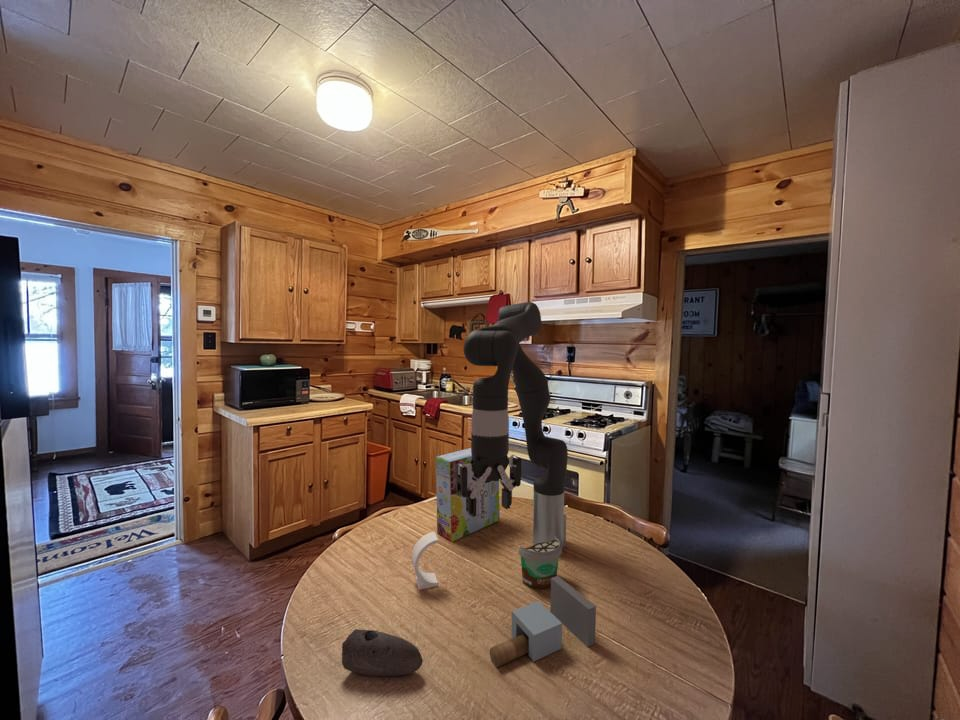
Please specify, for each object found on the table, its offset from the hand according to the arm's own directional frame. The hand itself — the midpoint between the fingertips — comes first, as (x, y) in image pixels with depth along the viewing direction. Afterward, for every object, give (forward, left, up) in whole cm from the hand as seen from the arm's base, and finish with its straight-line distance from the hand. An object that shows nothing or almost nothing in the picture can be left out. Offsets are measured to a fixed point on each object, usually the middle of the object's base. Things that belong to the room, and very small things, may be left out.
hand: (489, 511), depth 80 cm
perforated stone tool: (+20, -4, -28) cm, 35 cm away
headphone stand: (+4, -26, -28) cm, 38 cm away
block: (-9, +4, -28) cm, 30 cm away
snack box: (-20, -48, -28) cm, 59 cm away
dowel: (-3, +4, -28) cm, 28 cm away
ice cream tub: (-23, -11, -28) cm, 38 cm away
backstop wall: (-19, +4, -28) cm, 34 cm away
